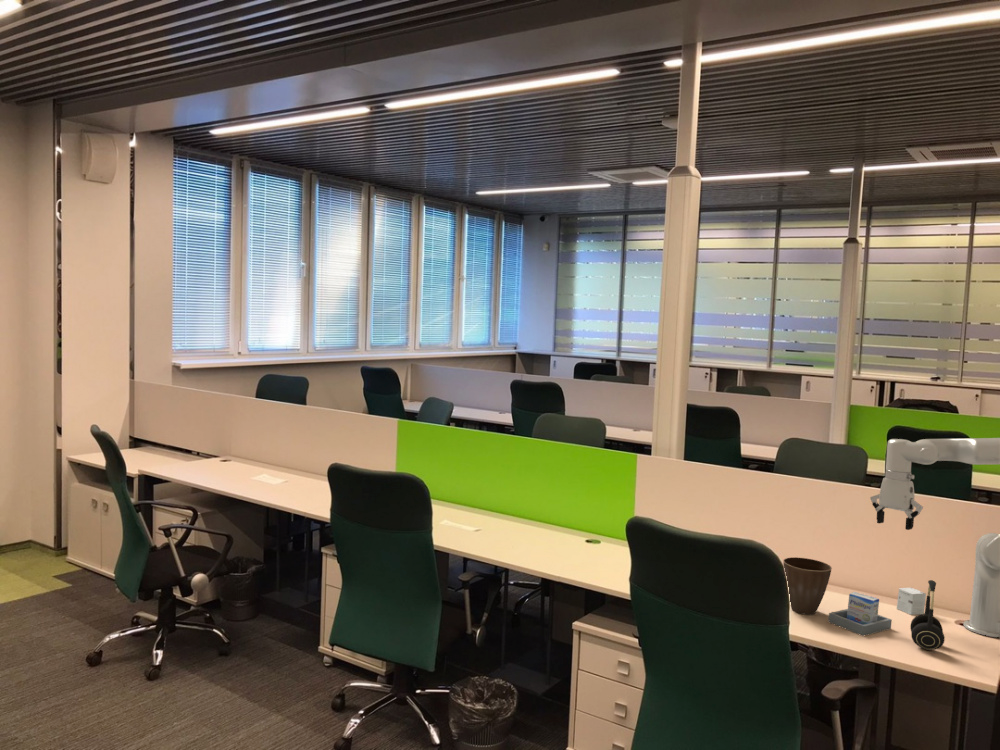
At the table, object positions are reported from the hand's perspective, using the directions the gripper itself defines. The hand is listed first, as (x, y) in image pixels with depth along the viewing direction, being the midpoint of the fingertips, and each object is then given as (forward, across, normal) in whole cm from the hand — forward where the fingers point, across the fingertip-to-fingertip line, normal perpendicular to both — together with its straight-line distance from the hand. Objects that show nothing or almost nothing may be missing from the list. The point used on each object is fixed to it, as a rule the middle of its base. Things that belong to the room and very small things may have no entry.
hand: (894, 526), depth 258 cm
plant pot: (+29, +14, +28) cm, 43 cm away
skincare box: (+30, -3, -8) cm, 31 cm away
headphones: (+30, -22, +20) cm, 42 cm away
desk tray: (+29, -3, +23) cm, 37 cm away
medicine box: (+29, -3, +22) cm, 36 cm away
